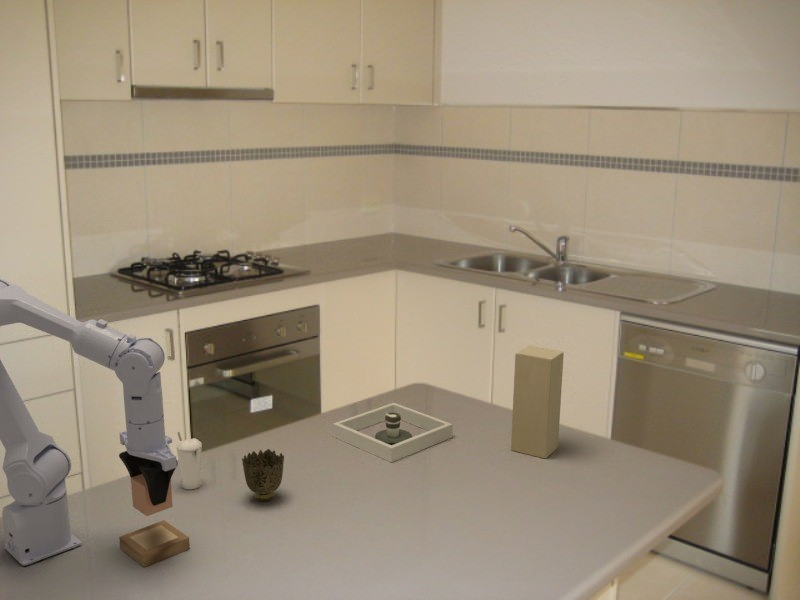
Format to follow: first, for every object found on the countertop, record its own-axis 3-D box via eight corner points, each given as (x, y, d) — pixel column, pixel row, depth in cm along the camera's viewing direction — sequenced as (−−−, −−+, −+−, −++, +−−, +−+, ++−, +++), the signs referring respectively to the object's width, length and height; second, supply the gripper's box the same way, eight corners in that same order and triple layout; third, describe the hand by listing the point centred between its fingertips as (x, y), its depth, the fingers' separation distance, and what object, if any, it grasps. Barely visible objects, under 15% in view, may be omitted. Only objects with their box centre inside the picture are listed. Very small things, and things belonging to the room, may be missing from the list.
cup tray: (391, 462, 169) (391, 448, 169) (333, 436, 182) (333, 423, 181) (452, 437, 181) (452, 424, 181) (393, 415, 194) (393, 402, 193)
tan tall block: (560, 446, 177) (565, 350, 172) (546, 459, 171) (551, 359, 166) (525, 438, 181) (528, 344, 176) (510, 450, 175) (513, 353, 170)
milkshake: (191, 477, 163) (188, 428, 160) (209, 485, 160) (206, 435, 157) (171, 485, 159) (168, 435, 157) (189, 493, 156) (185, 443, 154)
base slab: (144, 567, 132) (143, 555, 132) (120, 548, 138) (119, 536, 137) (189, 548, 137) (189, 537, 137) (164, 530, 143) (163, 519, 142)
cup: (293, 497, 155) (292, 456, 153) (261, 511, 149) (259, 469, 147) (268, 485, 160) (266, 445, 158) (235, 498, 154) (233, 457, 152)
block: (146, 516, 133) (144, 486, 132) (133, 506, 136) (130, 477, 135) (172, 506, 136) (170, 477, 135) (158, 497, 139) (156, 469, 138)
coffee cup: (421, 447, 176) (421, 425, 174) (363, 447, 176) (362, 425, 175) (420, 425, 187) (420, 404, 186) (366, 425, 187) (365, 404, 186)
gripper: (192, 423, 130) (197, 504, 133) (145, 399, 140) (151, 475, 143) (149, 436, 125) (156, 520, 128) (104, 410, 135) (111, 488, 138)
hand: (151, 497), depth 135 cm, fingers closed on block, 4 cm apart
